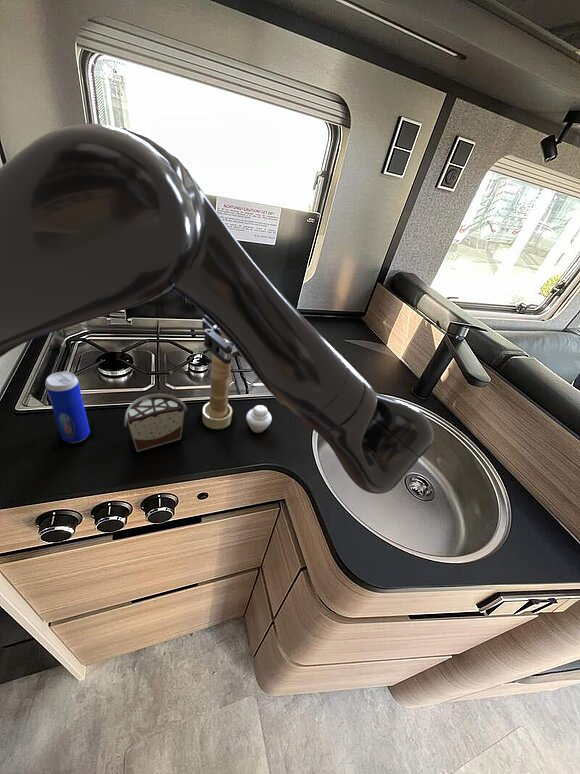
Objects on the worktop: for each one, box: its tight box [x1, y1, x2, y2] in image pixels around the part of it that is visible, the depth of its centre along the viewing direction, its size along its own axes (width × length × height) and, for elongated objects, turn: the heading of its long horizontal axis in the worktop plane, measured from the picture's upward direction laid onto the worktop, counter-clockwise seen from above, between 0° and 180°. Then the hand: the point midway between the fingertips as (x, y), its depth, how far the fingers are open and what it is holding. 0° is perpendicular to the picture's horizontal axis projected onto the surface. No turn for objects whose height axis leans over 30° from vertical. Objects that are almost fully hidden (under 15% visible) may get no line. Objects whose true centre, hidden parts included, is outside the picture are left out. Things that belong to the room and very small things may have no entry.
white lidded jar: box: [245, 404, 273, 434], centre depth 80 cm, size 6×6×7 cm
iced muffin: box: [123, 393, 188, 453], centre depth 72 cm, size 12×6×10 cm, turn 123°
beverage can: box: [45, 371, 91, 444], centre depth 66 cm, size 5×5×15 cm
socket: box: [201, 401, 233, 430], centre depth 81 cm, size 7×7×3 cm
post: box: [209, 333, 233, 419], centre depth 74 cm, size 4×4×26 cm
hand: (228, 316), depth 55 cm, fingers open, 8 cm apart
